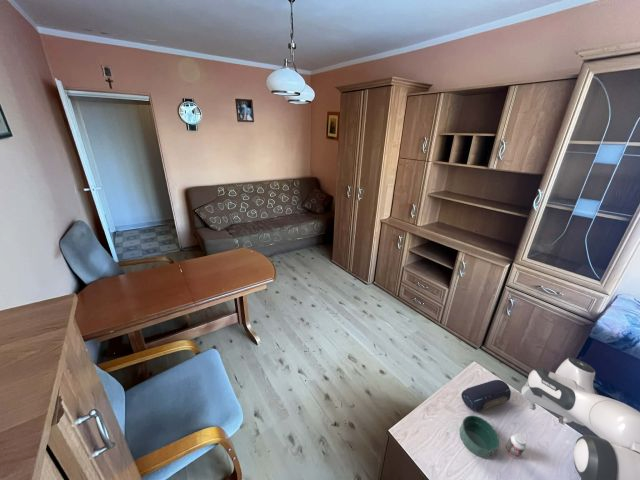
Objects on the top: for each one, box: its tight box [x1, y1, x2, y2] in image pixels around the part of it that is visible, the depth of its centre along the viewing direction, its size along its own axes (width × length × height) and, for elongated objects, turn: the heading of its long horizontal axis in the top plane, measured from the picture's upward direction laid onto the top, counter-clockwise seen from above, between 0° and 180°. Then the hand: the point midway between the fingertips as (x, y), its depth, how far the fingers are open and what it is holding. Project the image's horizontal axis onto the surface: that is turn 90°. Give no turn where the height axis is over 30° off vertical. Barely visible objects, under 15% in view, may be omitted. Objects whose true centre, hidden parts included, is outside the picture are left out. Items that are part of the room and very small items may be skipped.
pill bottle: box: [505, 432, 527, 459], centre depth 112 cm, size 5×5×10 cm
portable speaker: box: [460, 379, 512, 412], centre depth 132 cm, size 25×10×10 cm, turn 107°
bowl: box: [458, 415, 500, 459], centre depth 117 cm, size 14×14×6 cm
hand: (546, 415), depth 106 cm, fingers open, 8 cm apart
